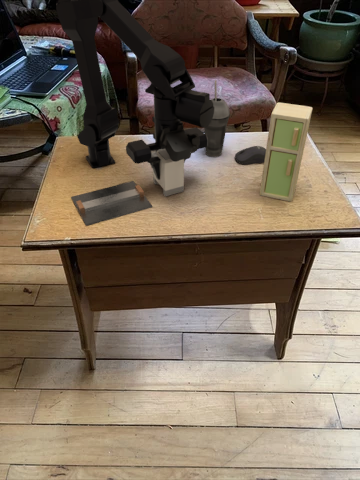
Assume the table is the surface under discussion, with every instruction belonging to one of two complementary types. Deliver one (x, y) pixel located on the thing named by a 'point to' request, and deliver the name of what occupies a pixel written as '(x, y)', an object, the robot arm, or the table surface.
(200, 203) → the table surface
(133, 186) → the rail
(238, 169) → the table surface
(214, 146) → the beverage cup
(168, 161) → the rail module
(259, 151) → the computer mouse
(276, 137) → the toy refrigerator
